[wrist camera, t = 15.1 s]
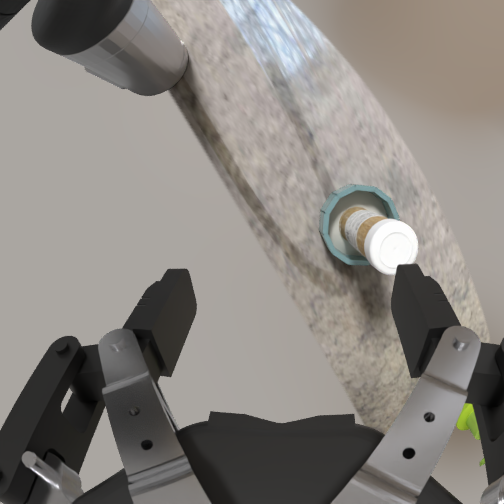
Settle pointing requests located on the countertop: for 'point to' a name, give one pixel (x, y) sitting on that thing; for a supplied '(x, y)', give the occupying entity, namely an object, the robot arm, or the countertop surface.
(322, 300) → the countertop surface
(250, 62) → the countertop surface
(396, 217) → the teal bowl
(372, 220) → the sprinkles bottle
